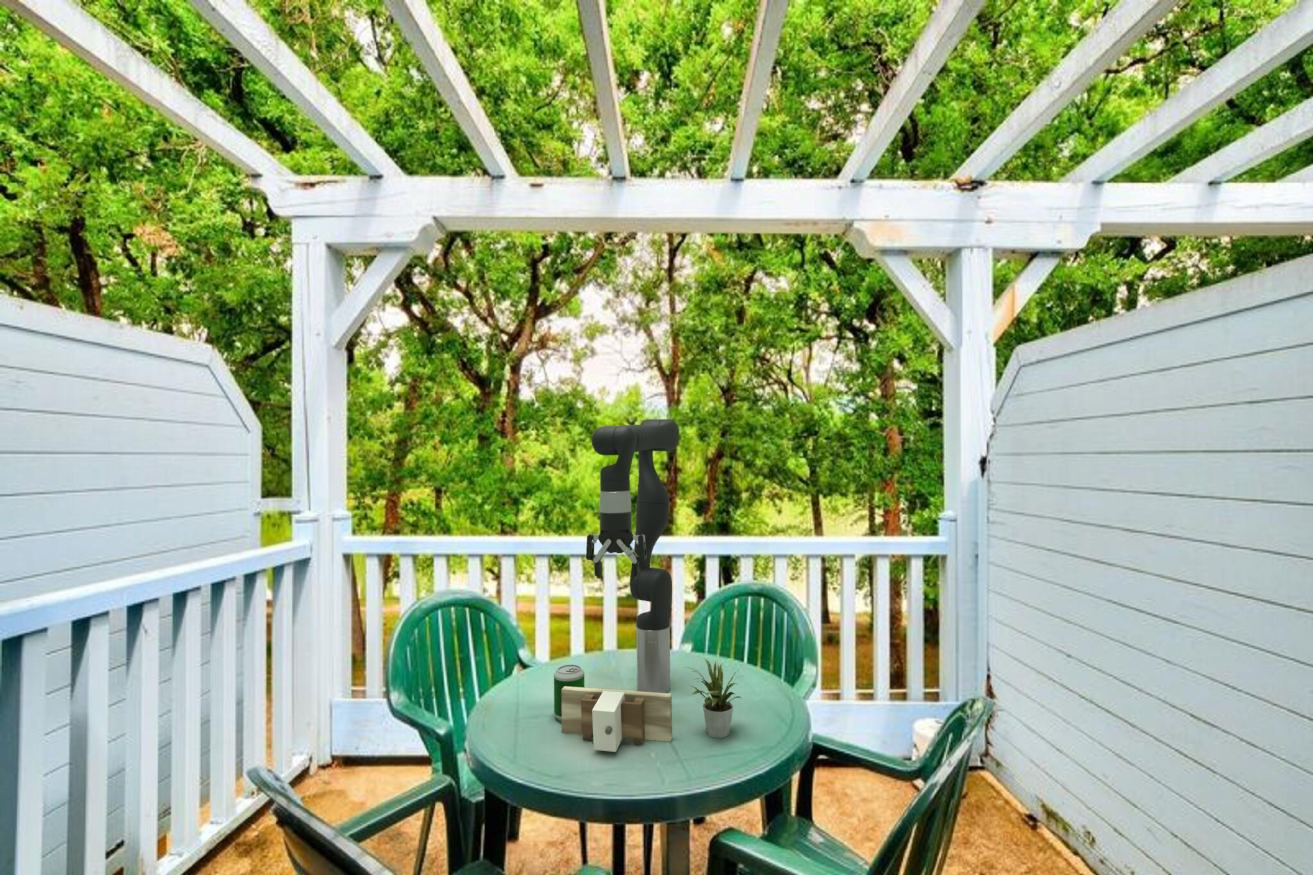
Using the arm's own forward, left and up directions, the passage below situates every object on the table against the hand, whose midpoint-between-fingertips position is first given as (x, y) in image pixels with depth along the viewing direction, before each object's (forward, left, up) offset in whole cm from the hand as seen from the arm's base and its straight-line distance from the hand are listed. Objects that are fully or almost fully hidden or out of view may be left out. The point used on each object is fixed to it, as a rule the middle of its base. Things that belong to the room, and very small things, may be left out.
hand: (616, 578), depth 141 cm
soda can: (-5, -14, -36) cm, 39 cm away
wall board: (+4, 0, -36) cm, 36 cm away
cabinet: (+7, 0, -35) cm, 35 cm away
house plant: (-4, +22, -36) cm, 42 cm away
